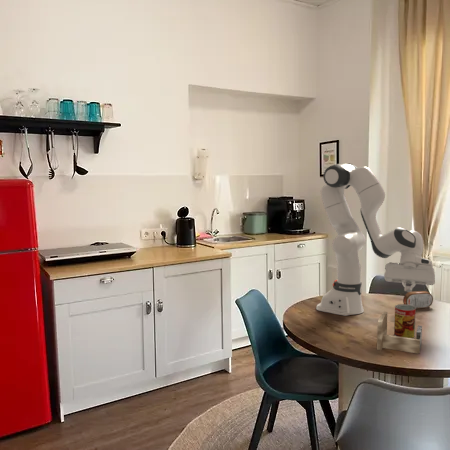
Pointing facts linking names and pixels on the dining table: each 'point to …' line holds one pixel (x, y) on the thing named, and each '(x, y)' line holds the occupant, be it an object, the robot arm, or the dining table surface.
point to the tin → (418, 299)
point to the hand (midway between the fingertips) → (407, 290)
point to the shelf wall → (394, 338)
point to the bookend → (419, 334)
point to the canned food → (404, 321)
